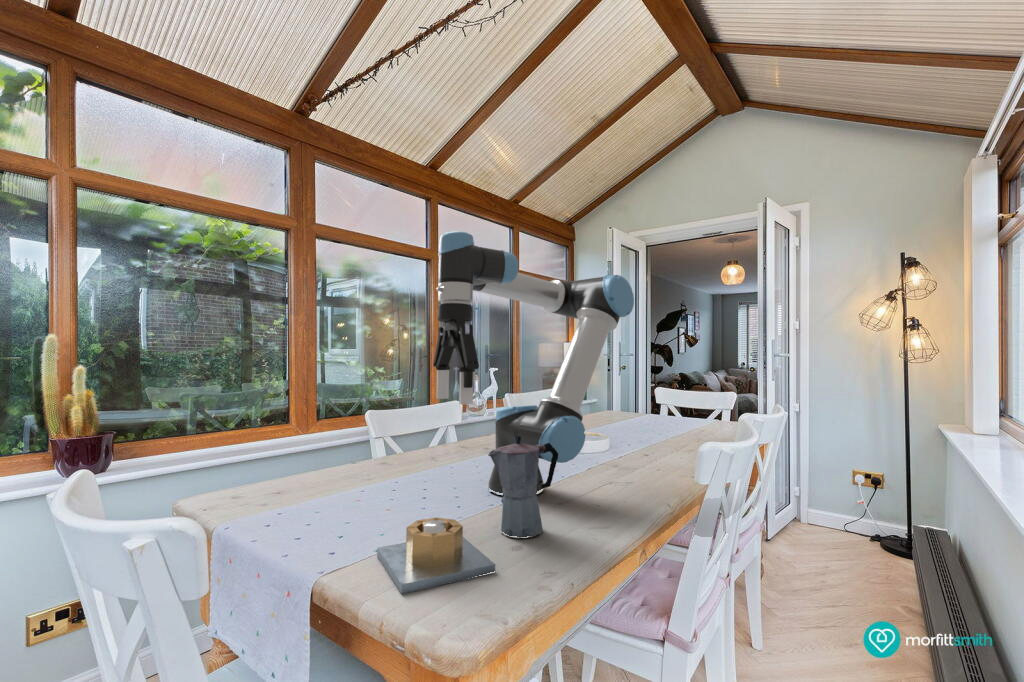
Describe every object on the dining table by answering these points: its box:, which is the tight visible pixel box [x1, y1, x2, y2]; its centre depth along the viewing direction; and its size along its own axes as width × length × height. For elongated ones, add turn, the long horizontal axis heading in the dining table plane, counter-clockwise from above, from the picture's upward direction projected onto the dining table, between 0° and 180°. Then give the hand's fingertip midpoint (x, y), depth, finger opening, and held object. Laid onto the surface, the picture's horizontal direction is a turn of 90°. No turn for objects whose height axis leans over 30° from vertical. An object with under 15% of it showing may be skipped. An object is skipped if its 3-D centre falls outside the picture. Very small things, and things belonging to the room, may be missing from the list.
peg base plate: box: [376, 520, 496, 595], centre depth 85 cm, size 16×16×7 cm
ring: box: [405, 517, 464, 567], centre depth 85 cm, size 9×9×5 cm
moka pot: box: [487, 436, 558, 537], centre depth 102 cm, size 10×15×20 cm, turn 111°
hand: (453, 401), depth 105 cm, fingers open, 13 cm apart
